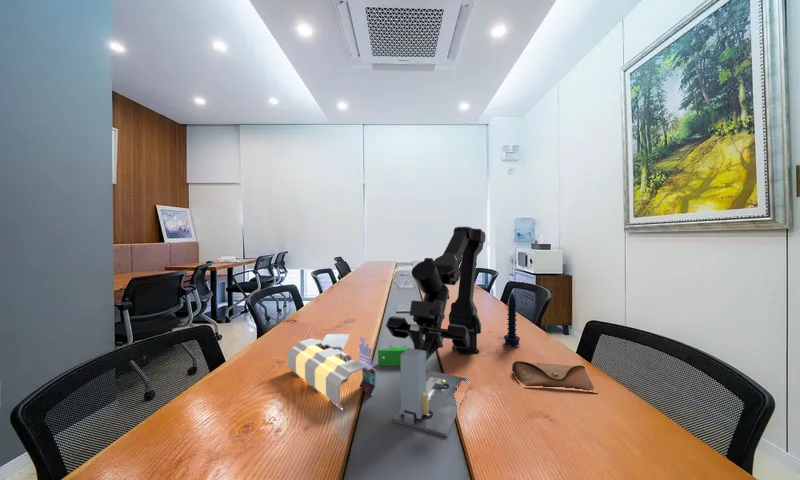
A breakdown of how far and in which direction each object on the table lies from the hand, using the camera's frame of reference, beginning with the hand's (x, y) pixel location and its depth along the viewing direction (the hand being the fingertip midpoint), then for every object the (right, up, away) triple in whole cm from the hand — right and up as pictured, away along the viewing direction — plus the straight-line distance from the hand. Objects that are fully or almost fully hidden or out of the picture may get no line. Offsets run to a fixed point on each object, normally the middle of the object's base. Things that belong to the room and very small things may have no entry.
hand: (417, 368), depth 62 cm
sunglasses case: (+34, -9, +11) cm, 37 cm away
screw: (+33, -8, +35) cm, 49 cm away
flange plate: (+4, -9, +4) cm, 10 cm away
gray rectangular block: (-1, -8, -2) cm, 8 cm away
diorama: (-22, -9, +12) cm, 26 cm away
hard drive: (-26, -9, +38) cm, 47 cm away
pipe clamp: (-4, -8, +22) cm, 24 cm away
